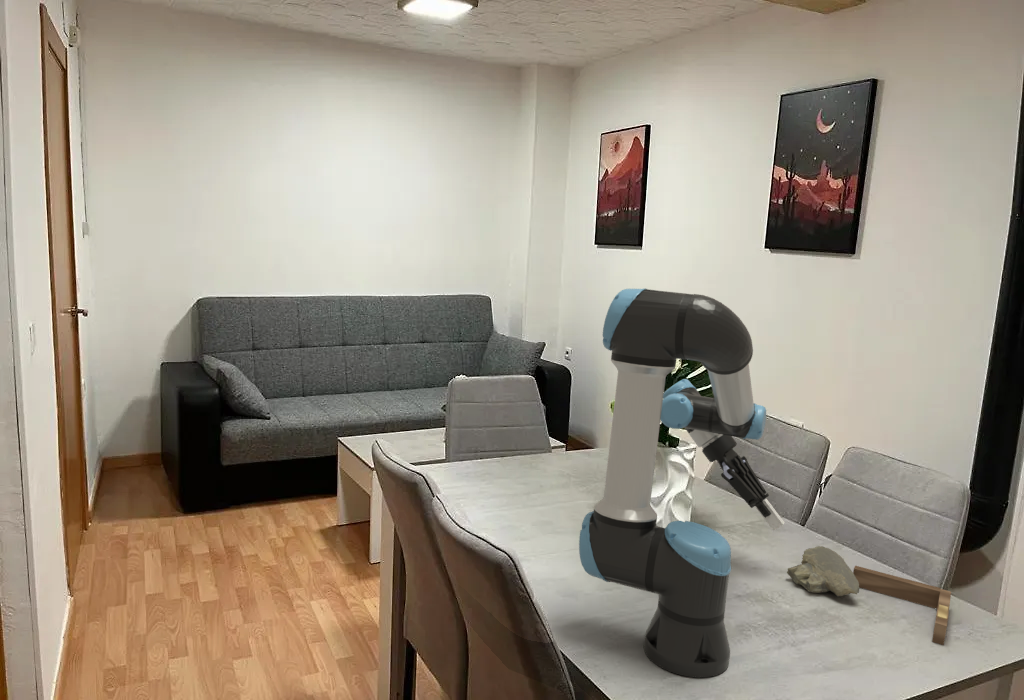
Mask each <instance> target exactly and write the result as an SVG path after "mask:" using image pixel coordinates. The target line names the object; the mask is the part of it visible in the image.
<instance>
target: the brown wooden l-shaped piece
mask: <svg viewBox="0 0 1024 700" xmlns="http://www.w3.org/2000/svg"><path fill="white" fill-rule="evenodd" d="M852 572H853V573H854V575H855V577H856V579H857V580H858V582H859V589H864V590H867V591H871V592H874V593H878V594H881V595H885V596H889V597H892V598H897V599H900V600H902V601H907V602H911V603H915V604H918V605H921V606H925V607H929V608H932V609H935V608H936V609H935V610H936V614H935V621H934V627H933V634H932V640H931V642H932V643H935V644H937V645H941V646H945V641H946V634H947V628H948V621H949V611H950V605H951V597H952V591H950V590H945V589H942V588H941V587H939V586H938V587H937V586H934V585H930V584H926V583H923V582H920V581H915V580H911V579H907V578H904V577H901V576H897V575H893V574H889V573H885V572H882V571H877V570H874V569H870V568H866V567H862V566H859V565H854V567H853V571H852Z"/></svg>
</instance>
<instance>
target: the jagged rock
mask: <svg viewBox="0 0 1024 700" xmlns="http://www.w3.org/2000/svg"><path fill="white" fill-rule="evenodd" d="M786 574H787V575H788V576H789V578H791V579H792V581H793V582H794V583H795V584H796V585H799V586H802V587H803V588H804V589H806V590H807V591H808V592H809V593H817V594H818V593H819V594H820V593H821V594H822V593H823V594H824V593H827V592H832V593H833V594H835V595H836V596H837V597H843V596H845V595H846V596H847V595H850V594H854V595H858V593H859V592H860V588H859V582H858V580H857V579H856V577H855V575H854V573H853V571H852V570H851V568H850V567H849V566H848V564H847V563H846V561H845V559H844V558H843V557H842V556H841V555H839V554H838V553H837V552H836V551H834V550H832V549H831V548H828V547H825V546H823V545H822V546H820V545H817V546H815V547H811V548H807V549H805V550H804V551H803V554H802V557H801V564H797V565H794V566H791V567H788V568H787V571H786Z"/></svg>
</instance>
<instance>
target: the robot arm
mask: <svg viewBox="0 0 1024 700" xmlns="http://www.w3.org/2000/svg"><path fill="white" fill-rule="evenodd" d="M602 344H603V347H604V348H605V349H607V350H608V351H611V356H610V361H611V363H612V364H613V366H615V368H616V369H617V379H616V387H615V396H614V403H613V404H614V405H613V413H612V421H611V422H612V423H611V428H610V429H611V430H610V440H609V448H608V456H607V463H606V464H607V465H606V466H607V467H606V473H605V481H604V483H605V484H604V490H603V497H602V498H601V499H600V500H599V501H598V502H596V503H595V504H594V507H593V511H589V512H588V513H586V514H585V516H584V517H583V521H582V522H581V530H580V531H579V537H578V538H579V540H578V552H579V559H580V563H581V566H582V567H583V570H584V571H585V572H586V573H587V574H588V576H589V575H590V576H592V577H594V578H597V579H600V580H602V581H604V582H606V583H614V584H617V585H622V586H625V587H630V588H632V589H633V588H634V589H637V590H641V591H646V592H649V593H653V594H655V595H658V603H657V608H656V611H655V612H654V615H653V617H652V618H651V621H650V622H649V625H648V627H647V629H646V631H645V633H644V641H643V642H644V643H643V650H644V653H645V655H646V656H647V658H648V659H649V660H650V661H651V662H653V663H654V664H655V665H656V666H658V667H659V668H661V669H663V670H665V671H668V672H670V673H673V674H676V675H679V676H683V677H688V678H689V677H690V678H710V677H714V676H717V675H720V674H723V672H725V671H726V670H727V669H728V667H729V664H730V657H731V648H730V643H729V639H728V634H727V630H726V624H725V612H726V605H727V604H726V603H727V594H728V587H729V579H730V574H731V572H732V571H731V570H732V566H731V563H732V562H731V557H732V550H731V549H732V548H731V545H730V543H729V541H728V540H727V539H726V538H725V537H724V536H723V535H722V534H721V533H719V532H718V531H716V530H715V529H713V528H711V527H709V526H706V525H703V524H700V523H698V522H695V521H694V522H693V521H689V520H685V521H682V520H674V521H671V522H669V523H668V524H667V525H666V527H662V526H658V525H657V521H658V513H657V512H656V511H655V509H654V508H653V507H652V505H651V500H652V491H653V483H654V475H655V470H656V469H655V466H656V458H657V450H658V443H659V433H660V426H661V423H662V424H663V425H664V426H665V427H667V428H670V429H673V430H674V429H675V430H680V429H683V428H684V429H685V430H686V432H687V433H688V435H689V437H690V438H691V439H692V440H693V442H694V443H695V445H696V446H697V447H698V448H702V449H701V452H702V453H703V455H704V456H705V457H706V460H708V461H709V463H713V462H715V461H717V462H718V465H719V467H720V469H721V470H722V471H723V472H722V473H720V475H721V477H722V479H724V480H725V481H726V482H727V483H728V484H729V485H730V486H731V487H732V488H733V490H734V491H735V492H736V493H738V495H739V496H740V497H741V498H742V499H743V500H744V501H745V503H747V505H748V506H749V507H750V508H751V509H752V508H756V509H757V510H758V512H759V514H760V515H761V516H762V517H763V519H764V520H765V522H766V523H767V525H768V526H769V527H770V528H771V530H773V532H774V531H775V530H777V529H778V528H781V527H782V526H783V525H784V524H785V521H784V520H783V518H782V517H781V516H780V515H779V513H778V512H777V510H776V509H775V508H774V507H773V505H772V504H771V503H770V501H769V500H768V499H767V498H768V497H769V496H770V495H769V493H768V492H767V491H766V489H765V488H764V486H763V484H762V483H761V481H760V479H759V478H758V476H757V475H756V474H755V471H754V470H753V469H752V467H751V465H750V463H749V461H748V459H747V457H746V456H744V455H743V456H740V455H739V454H738V453H737V452H736V451H735V450H734V448H735V447H737V444H738V443H737V441H736V440H735V439H734V438H733V437H736V438H740V439H743V440H745V439H749V440H760V439H762V437H763V435H764V431H765V426H766V420H767V409H766V407H765V406H763V405H761V404H757V403H755V402H754V396H753V395H754V394H753V388H752V380H751V373H750V365H749V364H750V363H751V361H752V359H753V355H754V354H753V353H754V349H753V340H752V336H751V334H750V332H749V330H748V328H747V327H746V325H745V323H743V321H742V319H741V318H740V317H739V316H738V315H737V314H736V313H735V312H734V311H733V310H732V309H730V308H729V307H728V306H727V305H725V304H724V303H722V302H721V301H720V300H717V299H715V298H713V297H710V296H708V295H707V296H706V295H704V294H697V293H693V294H691V293H684V292H674V291H667V290H666V291H664V290H656V289H648V288H624V289H622V290H620V291H619V292H617V294H616V295H615V296H614V297H613V299H612V301H611V303H610V304H609V307H608V310H607V313H606V315H605V319H604V323H603V328H602ZM677 359H678V360H686V361H687V360H689V361H695V362H699V363H701V365H702V366H703V368H705V370H707V373H708V377H709V381H710V385H711V389H712V394H713V397H709V396H702V395H701V394H700V392H699V391H698V389H697V388H696V387H695V386H694V385H693V384H692V383H691V381H690V380H689V379H686V378H683V379H681V380H679V381H677V382H676V383H674V384H673V385H672V386H670V387H669V388H668V389H666V390H665V386H666V377H667V375H668V374H670V373H671V372H672V371H674V370H675V369H676V365H677Z"/></svg>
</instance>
